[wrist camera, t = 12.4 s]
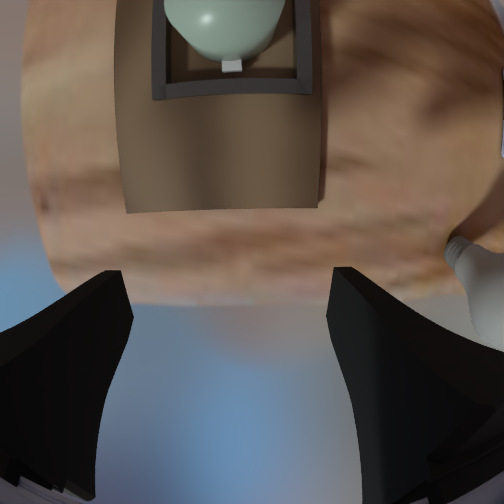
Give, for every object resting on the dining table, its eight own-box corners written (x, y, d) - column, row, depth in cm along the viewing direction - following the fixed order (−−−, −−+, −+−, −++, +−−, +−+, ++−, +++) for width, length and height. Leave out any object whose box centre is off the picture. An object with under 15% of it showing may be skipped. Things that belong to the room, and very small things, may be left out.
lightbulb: (463, 195, 17) (566, 264, 8) (482, 247, 20) (560, 321, 10) (410, 243, 19) (498, 343, 10) (435, 290, 21) (501, 382, 12)
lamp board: (313, -30, 11) (315, -34, 10) (315, 205, 18) (317, 208, 17) (122, -16, 11) (119, -19, 10) (129, 210, 18) (126, 213, 17)
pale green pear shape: (277, 71, 14) (289, 54, 9) (189, 77, 14) (165, 63, 9) (271, -16, 11) (280, -56, 6) (186, -10, 11) (165, -47, 6)
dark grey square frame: (303, -26, 10) (307, -35, 9) (307, 95, 14) (312, 94, 13) (160, -20, 10) (155, -27, 9) (158, 100, 14) (152, 100, 13)
